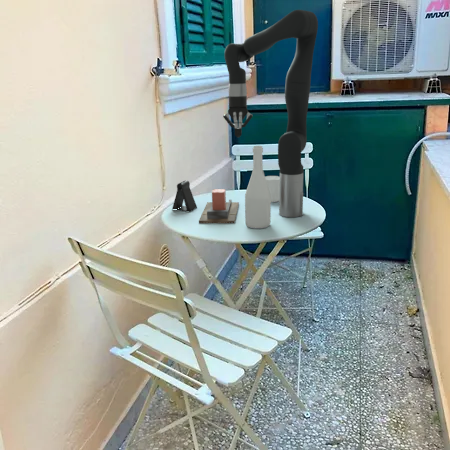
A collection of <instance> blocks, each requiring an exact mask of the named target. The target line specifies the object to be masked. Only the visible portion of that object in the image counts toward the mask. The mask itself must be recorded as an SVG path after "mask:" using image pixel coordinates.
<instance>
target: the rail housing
mask: <svg viewBox="0 0 450 450" xmlns="http://www.w3.org/2000/svg"><path fill="white" fill-rule="evenodd" d="M239 203H240V202H238V201H235V202H233V200H232V199H228V201H226V210H213V209H212V201H211V202H209V201H208V202H206V203H205V206H204V208H203V211H202V213H201V215H200V216H199V219H198V224H235V223H236V219H237V215H238V210H239V205H240V204H239Z"/></svg>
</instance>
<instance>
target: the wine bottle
mask: <svg viewBox="0 0 450 450" xmlns="http://www.w3.org/2000/svg"><path fill="white" fill-rule="evenodd" d="M252 153H253V156H252V157H253V159H252V162H253V167H252V172H251V176H250V179H249V182H248V185H247V188H246V191H245V194H244V212H245V213H244V215H245V216H244V217H245V220H244V221H245V225H246V227H248V228H251V229H257V230H258V229H260V230H261V229H266V228H268V227H269V226H270V225H271V219H272V218H271V217H272V216H271V212H272V210H271V209H272V208H271V207H272V202H271V194H270V191H269V188H268V185H267V182H266V179H265V177H266V176H265V175H266V174H265V172H264V168H263V167H264V165H263V153H264V147H263V146H262V145H253V148H252Z"/></svg>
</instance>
